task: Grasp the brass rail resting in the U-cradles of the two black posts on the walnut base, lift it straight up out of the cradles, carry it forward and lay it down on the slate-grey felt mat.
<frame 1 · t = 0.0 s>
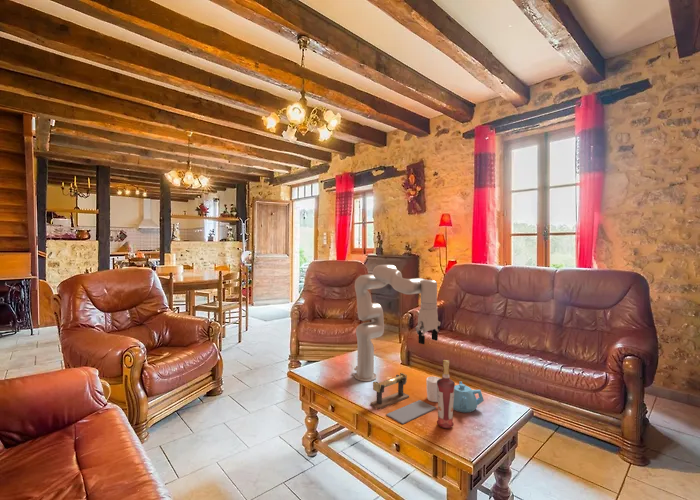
hand: (428, 341, 165), 31 cm above the table, fingers open, 9 cm apart
teapot: (461, 407, 166), on the table
rail: (390, 385, 171), point 7 cm above the table, touching rack
mat: (411, 411, 160), on the table
rack: (390, 401, 171), on the table
white cup: (434, 399, 174), on the table
liquor: (445, 426, 148), on the table
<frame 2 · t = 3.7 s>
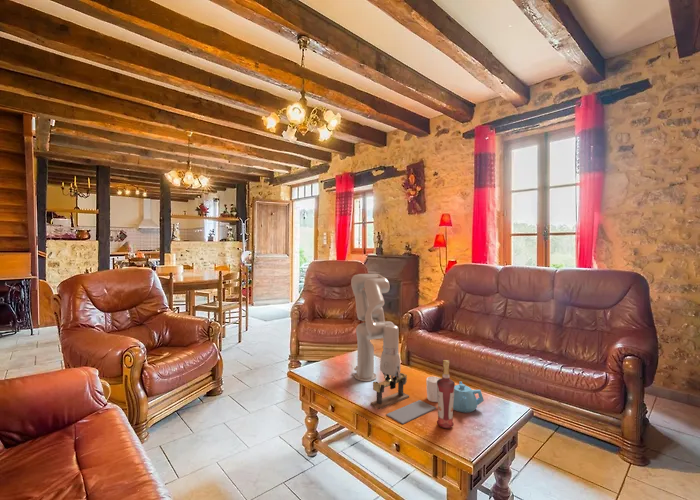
hand: (390, 387, 171), 7 cm above the table, fingers closed on rail, 2 cm apart
rail: (390, 385, 171), point 7 cm above the table, touching gripper, rack
everything else where it was.
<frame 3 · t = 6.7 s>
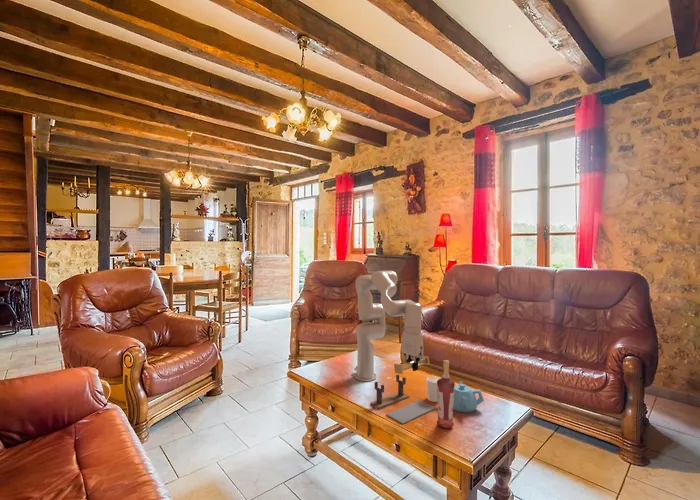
hand: (412, 368, 160), 20 cm above the table, fingers closed on rail, 2 cm apart
rail: (412, 368, 159), point 20 cm above the table, tilted 11°, touching gripper
everything else where it was.
when the fingers open (2 cm above the table, at t = 10.0 s): rail drops 1 cm, resting on mat.
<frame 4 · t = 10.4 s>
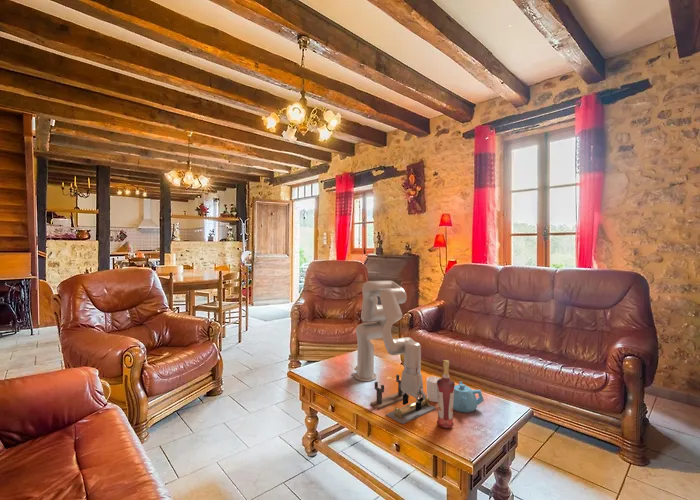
hand: (411, 406, 160), 2 cm above the table, fingers open, 7 cm apart
rail: (412, 411, 160), point 1 cm above the table, touching mat
everything else where it was.
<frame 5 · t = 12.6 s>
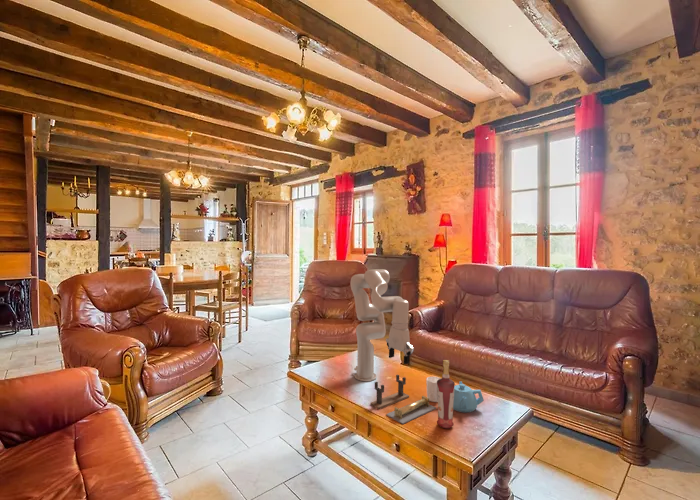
hand: (398, 360, 167), 22 cm above the table, fingers open, 9 cm apart
nothing on the table moved.
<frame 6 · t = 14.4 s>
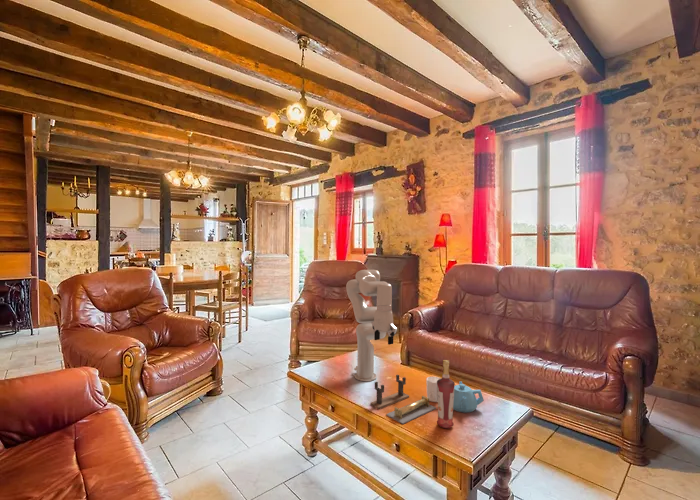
hand: (383, 341, 174), 28 cm above the table, fingers open, 9 cm apart
nothing on the table moved.
at the end: rail inside the target area on the mat (0.3 cm from its centre), point 0.6 cm above the mat's base; rail touching mat; the gripper is holding nothing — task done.
